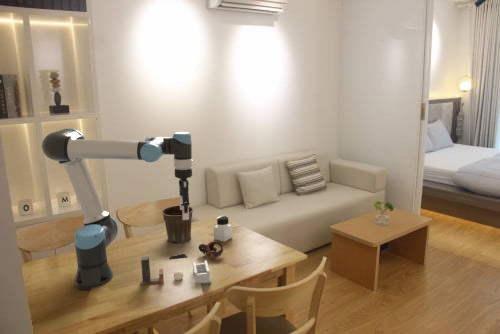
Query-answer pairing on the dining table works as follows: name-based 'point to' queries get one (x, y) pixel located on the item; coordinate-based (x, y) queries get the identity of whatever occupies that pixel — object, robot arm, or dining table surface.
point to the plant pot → (177, 224)
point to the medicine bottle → (222, 229)
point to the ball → (178, 275)
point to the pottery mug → (211, 249)
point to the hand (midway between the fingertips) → (184, 214)
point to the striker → (146, 273)
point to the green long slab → (201, 273)
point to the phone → (178, 256)
